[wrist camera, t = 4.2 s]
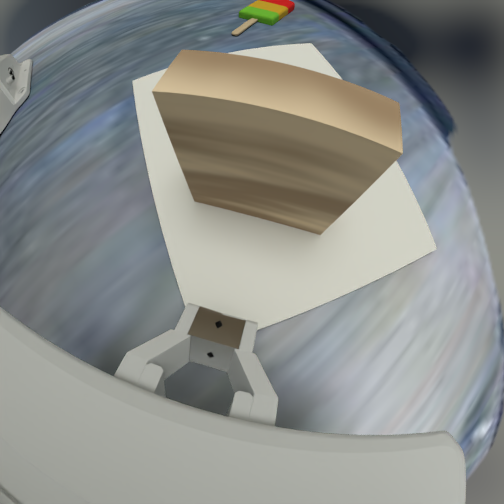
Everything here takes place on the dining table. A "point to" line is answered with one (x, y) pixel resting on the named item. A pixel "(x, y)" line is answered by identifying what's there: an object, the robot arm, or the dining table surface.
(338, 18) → the dining table surface
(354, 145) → the wooden block
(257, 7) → the popsicle
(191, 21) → the dining table surface
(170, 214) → the mat
